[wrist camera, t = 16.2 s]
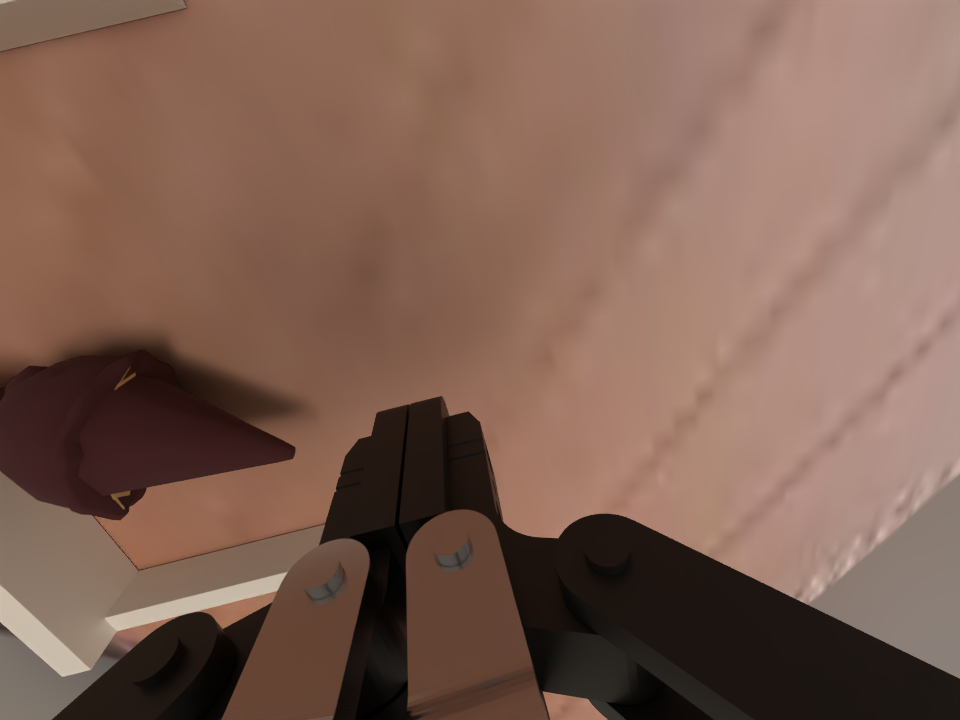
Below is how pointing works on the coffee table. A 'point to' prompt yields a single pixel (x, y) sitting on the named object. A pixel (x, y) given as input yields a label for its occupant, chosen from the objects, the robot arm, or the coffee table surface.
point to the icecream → (117, 433)
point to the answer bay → (80, 538)
